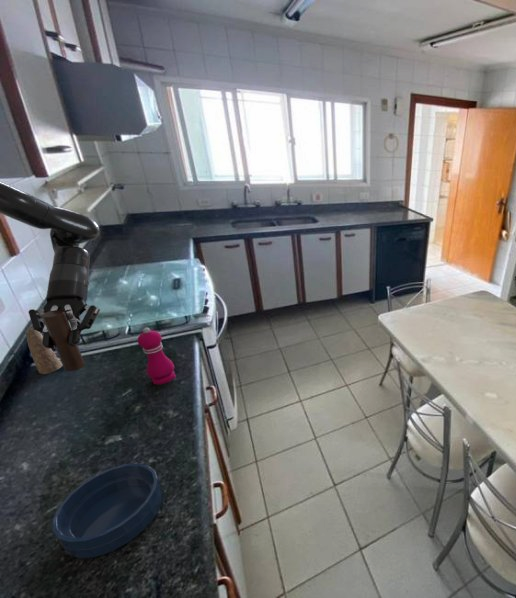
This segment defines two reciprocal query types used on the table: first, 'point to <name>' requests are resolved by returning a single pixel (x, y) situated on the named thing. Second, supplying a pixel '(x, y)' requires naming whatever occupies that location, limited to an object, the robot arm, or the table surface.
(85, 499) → the bowl
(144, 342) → the pepper mill
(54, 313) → the brown cylinder
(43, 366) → the tan tapered cone
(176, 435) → the table surface
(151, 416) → the table surface
